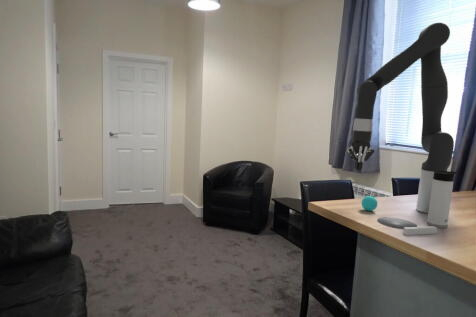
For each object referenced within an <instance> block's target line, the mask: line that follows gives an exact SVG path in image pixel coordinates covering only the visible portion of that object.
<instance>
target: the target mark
mask: <svg viewBox="0 0 476 317" xmlns="http://www.w3.org/2000/svg"><path fill="white" fill-rule="evenodd" d="M377 222H378V223H379V224H381V225H383V226H387V227H389V228H390V227H391V228H395V229H399V230H400V229H401V230H404V227H418V225H417V224H416V223H415V222H412V221H410V220H407V219H403V218H398V217H391V216H389V217H387V216H386V217H383V216H382V217H379V218H377Z"/></svg>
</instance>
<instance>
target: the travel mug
mask: <svg viewBox="0 0 476 317" xmlns="http://www.w3.org/2000/svg"><path fill="white" fill-rule="evenodd" d="M456 173H457V172H456V171H453V170H452V171H451V170H450V171H449V170H447V171H437V172H434V177H433V182H432V190H431V197H430V205H429V212H428V213H427V221H426V224H427V226H434V227H437V229H446V228H447V227H448V222H449V217H450V209H451V202H452V193H453V190H454V189H453V186H454V179H455V175H456Z"/></svg>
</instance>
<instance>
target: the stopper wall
mask: <svg viewBox="0 0 476 317" xmlns="http://www.w3.org/2000/svg"><path fill="white" fill-rule="evenodd" d="M402 230H403V231H402V233H403V234H404V235H406V236H410V235H433V234H434V235H435V234H437V231H438V228H437V227H434V226H430V225H427V226H417V227H404V229H402Z"/></svg>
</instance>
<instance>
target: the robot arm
mask: <svg viewBox="0 0 476 317" xmlns="http://www.w3.org/2000/svg"><path fill="white" fill-rule="evenodd" d="M450 36H451V30H450V28H449V26H448V25H447V24H446V23H443V22H435V23H434V22H433V23H432V24H429V25H428V26H426V27H424V29H422V30H421V32H420V33H419V34H418V38H417V39H416V40H415V41H414V42H413V43H412V44H411V45H410V46H408V47H406V49H404V50H403V51H402V52H400V53H398V54H397V55H396V56H394V57H393V58H391V59H390V60H389V61H387V63H385V64H384V65H383V66H381V67H380V68H379V69H378V70H377V71H375V73H373V74H372V75H371V76H370V77H368V78H367V79H365V80H364V81H363V82H362V83H360V84H359V85H358V87H357V88H356V94H357V96H358V98H357V106H356V108H355V115H354V120H353V121H354V122H353V127H352V128H353V129H352V137H351V140H352V142H351V145H350V147H346V148H345V150H346V152H347V154H348V156H349V158H350V159H351V160H352V161H354V170H355V171H357V172H361V171H362V170H363V164H364V162H367V161H368V160H369V159H370V158H371V157H372V155H373V154H374V153H375V149H373V148H372V147H371V141H372V135H373V121H374V120H373V119H374V107H375V103H376V99H377V94H378V92H379V91H380V90H381V89H383V87H385V86H386V85H389V84H390V83H391V82H393V81H395V79H397V78H398V77H399V76H400V75H401V74H403V73H404V72H405V71H406V70H407V69H408V68H410V67H411V66H412V65H414V63H416V62H418V61H419V60H420V82H421V85H420V88H421V92H420V93H421V107H422V108H421V109H422V110H421V113H422V114H421V115H422V128H421V139H420V140H421V141H420V142H421V143H420V144H421V147H422V149H423V150H424V151H425V152H426V153H428V154H427V155H428V156H427V158H426V160H425V161H424V162H422V164H421V169H420V176H419V177H420V178H419V184H418V192H417V200H416V210H417V211H418V212H420V213H425V214H428V212H429V205H430V197H431V190H432V182H433V177H434V172H437V171H448V168H450V165H451V162H452V159H453V153H454V147H455V143H454V138H453V136H452V135H451V134H450V133H448V132H445V131H444V132H443V131H442V116H443V113H444V111H445V108H446V105H447V103H448V98H449V91H448V89H449V88H448V85H449V84H448V78H447V76H446V75H447V74H446V73H445V69H444V68H443V64H442V56H441V54H442V46H443V45H445V44H446V43H447V41H448V40H449V38H450Z"/></svg>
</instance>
